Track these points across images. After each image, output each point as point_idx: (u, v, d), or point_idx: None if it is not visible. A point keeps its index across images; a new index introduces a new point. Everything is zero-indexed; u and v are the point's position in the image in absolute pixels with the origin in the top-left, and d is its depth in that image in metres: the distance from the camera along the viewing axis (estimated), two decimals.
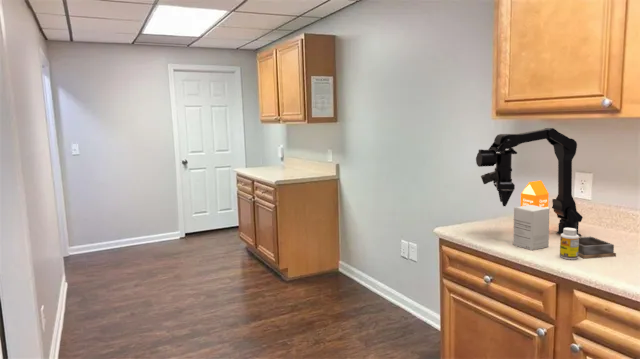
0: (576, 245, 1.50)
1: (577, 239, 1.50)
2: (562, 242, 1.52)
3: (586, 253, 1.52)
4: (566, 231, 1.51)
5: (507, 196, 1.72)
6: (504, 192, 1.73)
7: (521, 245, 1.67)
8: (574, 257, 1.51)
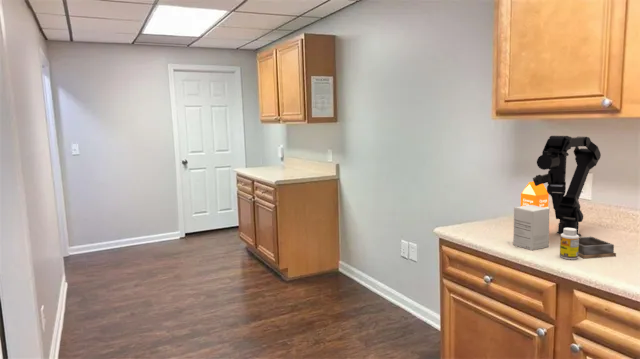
0: (576, 245, 1.50)
1: (577, 239, 1.50)
2: (562, 242, 1.52)
3: (586, 253, 1.52)
4: (566, 231, 1.51)
5: (558, 199, 1.68)
6: (555, 195, 1.68)
7: (521, 245, 1.67)
8: (574, 257, 1.51)
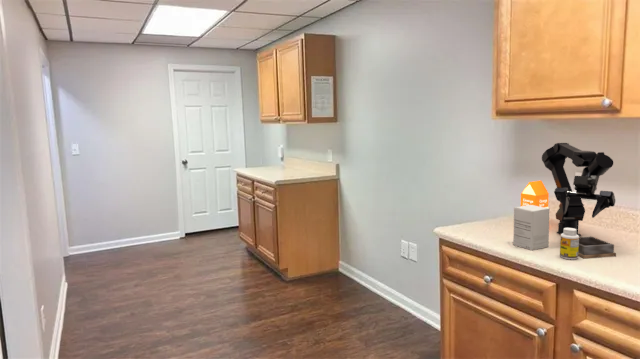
0: (576, 245, 1.50)
1: (577, 239, 1.50)
2: (562, 242, 1.52)
3: (586, 253, 1.52)
4: (566, 231, 1.51)
5: (600, 209, 1.56)
6: None
7: (521, 245, 1.67)
8: (574, 257, 1.51)
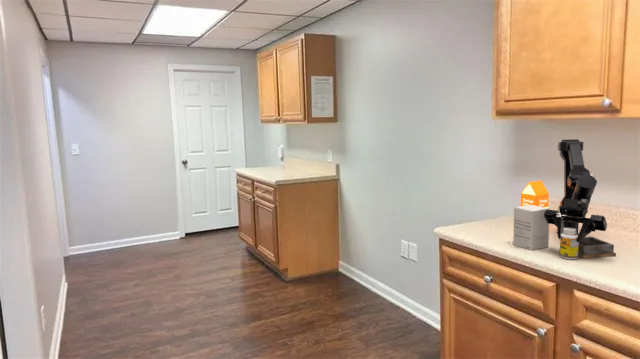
0: (576, 245, 1.50)
1: None
2: (562, 242, 1.52)
3: (586, 253, 1.52)
4: (566, 231, 1.51)
5: (585, 233, 1.51)
6: None
7: (521, 245, 1.67)
8: (574, 257, 1.51)
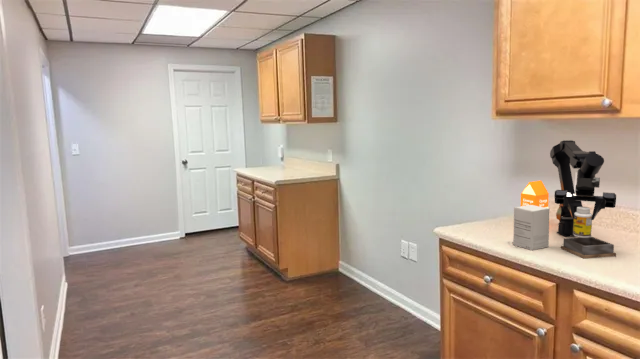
0: (591, 223, 1.53)
1: (591, 217, 1.53)
2: (577, 221, 1.54)
3: (586, 253, 1.52)
4: (581, 210, 1.53)
5: (597, 211, 1.54)
6: None
7: (521, 245, 1.67)
8: (589, 235, 1.53)
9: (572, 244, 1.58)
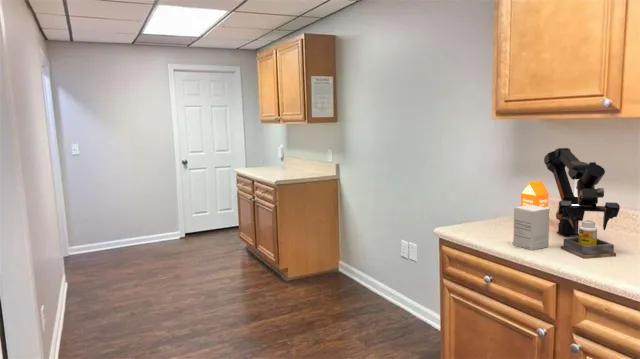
0: (596, 236, 1.56)
1: (596, 231, 1.56)
2: (583, 235, 1.56)
3: (586, 253, 1.52)
4: (587, 224, 1.56)
5: None
6: None
7: (521, 245, 1.67)
8: None
9: (572, 244, 1.58)
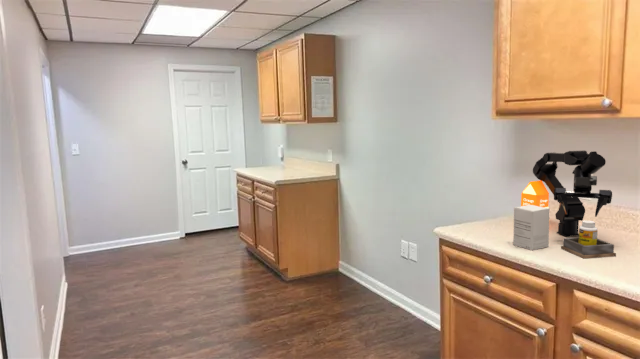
0: (596, 236, 1.56)
1: None
2: (584, 235, 1.56)
3: (586, 253, 1.52)
4: (587, 224, 1.56)
5: (600, 207, 1.63)
6: None
7: (521, 245, 1.67)
8: None
9: (572, 244, 1.58)
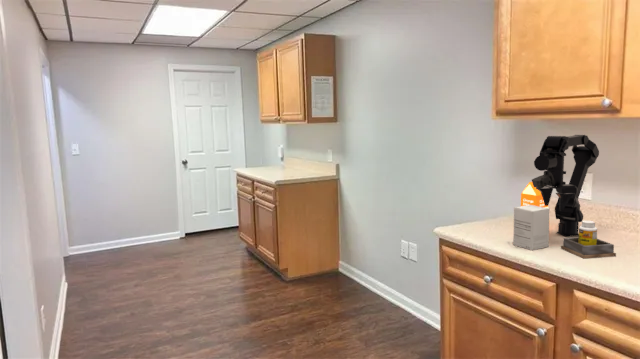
0: (596, 236, 1.56)
1: None
2: (584, 235, 1.56)
3: (586, 253, 1.52)
4: (587, 224, 1.56)
5: (566, 200, 1.67)
6: (563, 196, 1.67)
7: (521, 245, 1.67)
8: None
9: (572, 244, 1.58)
